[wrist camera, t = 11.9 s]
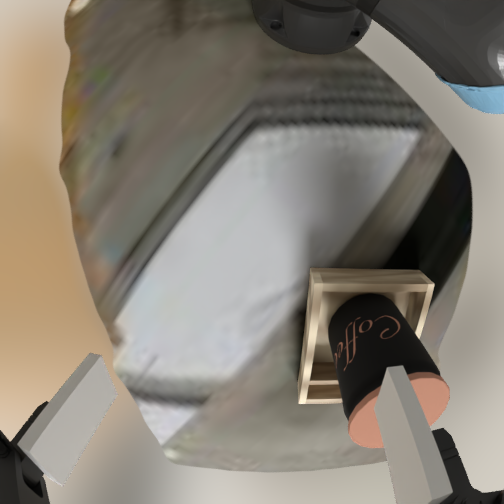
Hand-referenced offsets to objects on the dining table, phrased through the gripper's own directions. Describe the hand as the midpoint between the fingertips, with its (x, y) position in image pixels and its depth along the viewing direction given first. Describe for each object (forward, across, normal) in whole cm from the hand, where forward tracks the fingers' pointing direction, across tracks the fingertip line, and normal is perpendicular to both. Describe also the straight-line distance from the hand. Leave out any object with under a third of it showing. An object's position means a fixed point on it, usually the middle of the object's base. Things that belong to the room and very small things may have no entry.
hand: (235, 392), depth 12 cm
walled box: (+26, +13, -15) cm, 33 cm away
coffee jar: (+26, +14, -13) cm, 32 cm away
